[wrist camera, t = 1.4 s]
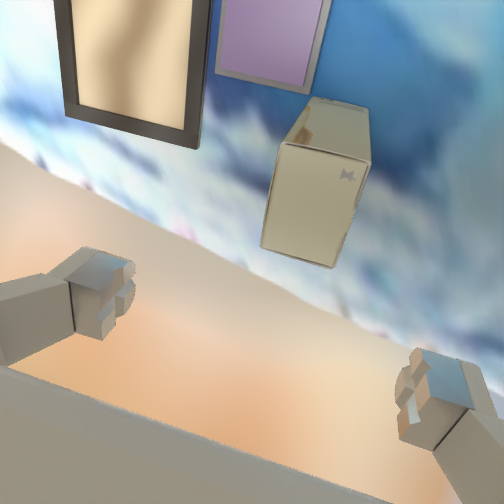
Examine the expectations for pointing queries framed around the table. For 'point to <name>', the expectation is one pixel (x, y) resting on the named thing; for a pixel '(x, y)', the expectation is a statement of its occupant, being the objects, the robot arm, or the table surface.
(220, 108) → the table surface
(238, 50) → the pad
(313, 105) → the skincare box
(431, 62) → the table surface
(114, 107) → the framed board
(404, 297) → the table surface
